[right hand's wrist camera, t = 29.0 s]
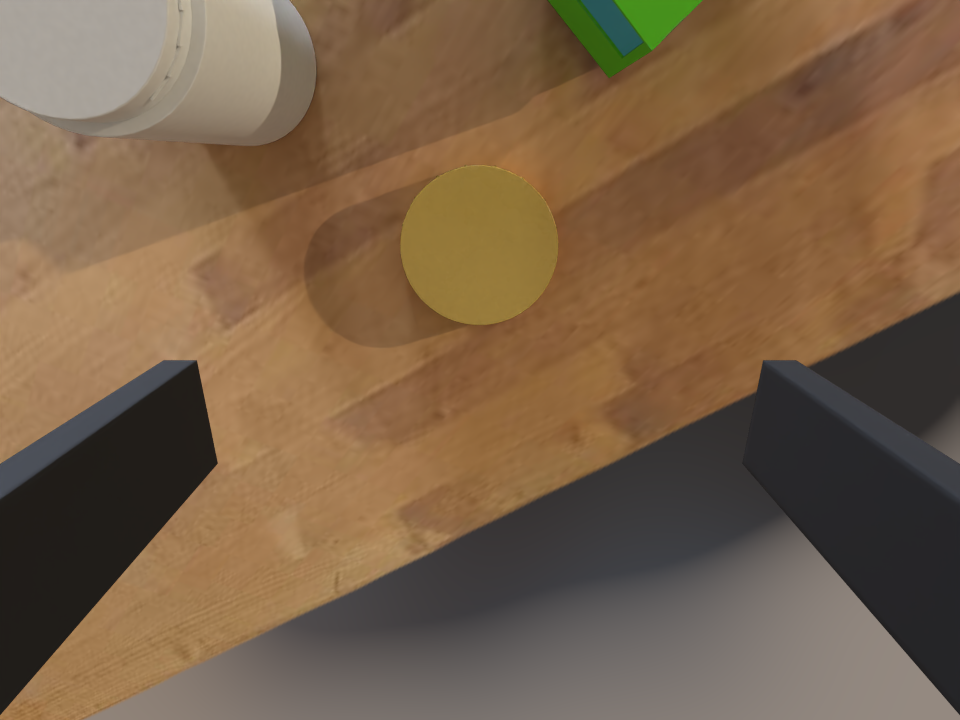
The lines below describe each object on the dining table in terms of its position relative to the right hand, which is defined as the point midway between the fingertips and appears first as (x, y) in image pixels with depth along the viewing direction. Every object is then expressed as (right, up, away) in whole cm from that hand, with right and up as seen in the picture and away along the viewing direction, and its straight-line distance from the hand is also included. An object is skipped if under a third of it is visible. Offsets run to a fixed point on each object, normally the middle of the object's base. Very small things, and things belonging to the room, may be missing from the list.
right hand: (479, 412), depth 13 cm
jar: (-16, +20, +21) cm, 33 cm away
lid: (0, +9, +24) cm, 26 cm away
